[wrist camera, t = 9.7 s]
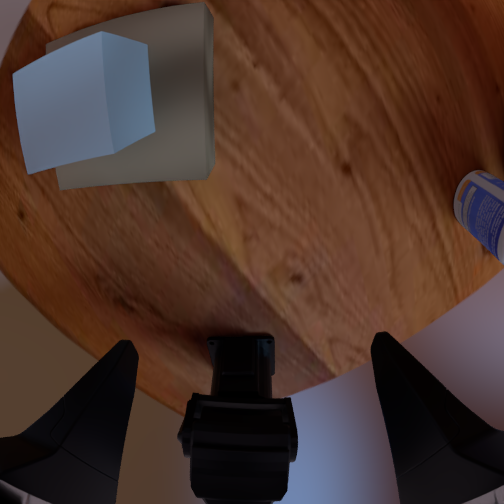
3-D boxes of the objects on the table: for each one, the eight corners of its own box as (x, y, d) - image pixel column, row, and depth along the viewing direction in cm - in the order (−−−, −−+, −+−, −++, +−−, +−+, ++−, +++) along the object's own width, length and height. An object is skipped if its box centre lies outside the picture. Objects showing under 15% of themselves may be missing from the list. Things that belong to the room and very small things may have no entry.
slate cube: (155, 131, 14) (114, 153, 9) (80, 146, 14) (27, 174, 9) (147, 44, 11) (101, 31, 7) (70, 69, 11) (12, 73, 7)
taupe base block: (216, 161, 18) (206, 179, 15) (88, 171, 18) (60, 190, 15) (214, 19, 13) (204, 2, 10) (78, 47, 13) (46, 44, 10)
